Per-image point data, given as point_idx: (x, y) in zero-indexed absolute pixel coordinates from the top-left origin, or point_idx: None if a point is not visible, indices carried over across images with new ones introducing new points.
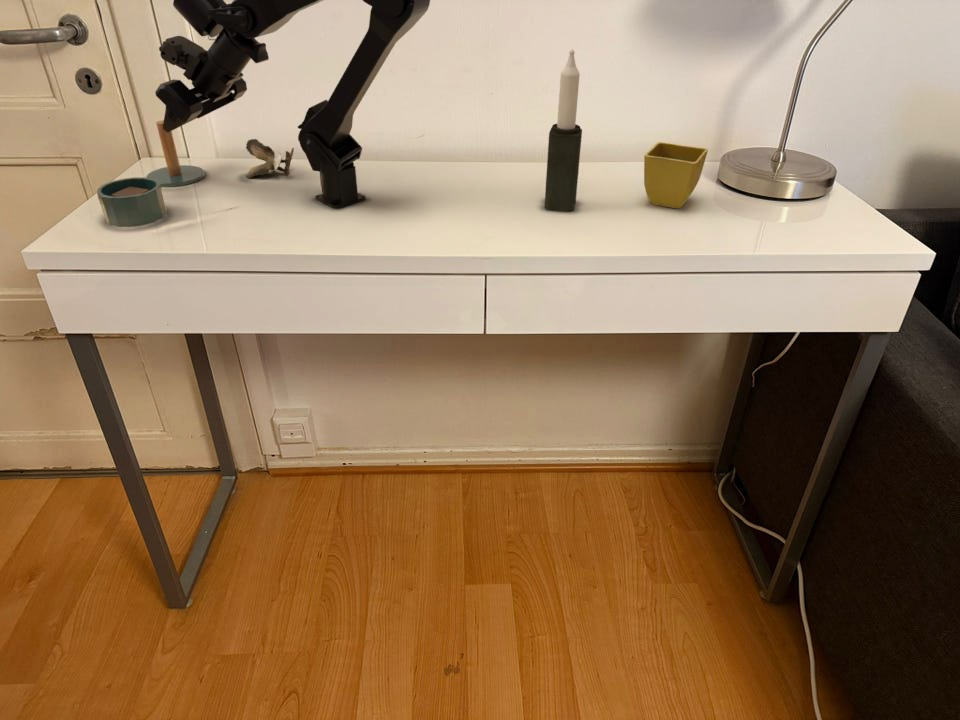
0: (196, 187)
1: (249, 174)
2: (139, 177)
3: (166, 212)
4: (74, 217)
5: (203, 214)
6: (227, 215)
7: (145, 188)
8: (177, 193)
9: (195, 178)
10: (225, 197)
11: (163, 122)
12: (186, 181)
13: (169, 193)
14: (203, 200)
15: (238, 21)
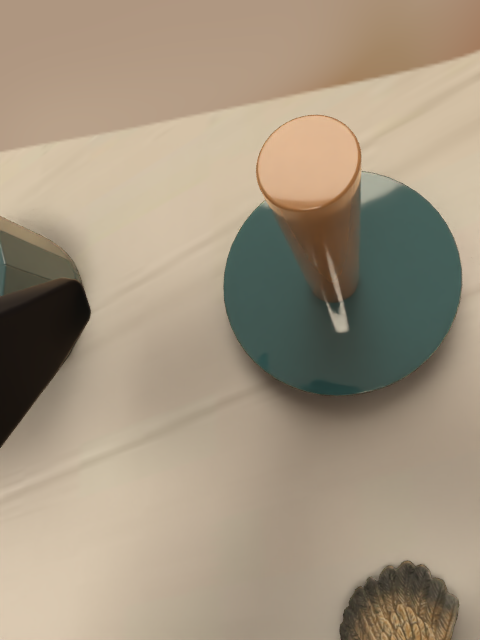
0: (264, 390)
1: (358, 629)
2: (2, 280)
3: None
4: (35, 147)
5: (34, 497)
6: (22, 581)
7: None
8: (202, 343)
9: (285, 383)
10: (167, 536)
11: (2, 296)
12: (251, 358)
13: (202, 315)
14: (141, 460)
15: None
